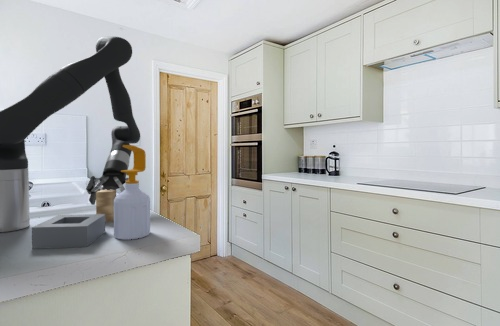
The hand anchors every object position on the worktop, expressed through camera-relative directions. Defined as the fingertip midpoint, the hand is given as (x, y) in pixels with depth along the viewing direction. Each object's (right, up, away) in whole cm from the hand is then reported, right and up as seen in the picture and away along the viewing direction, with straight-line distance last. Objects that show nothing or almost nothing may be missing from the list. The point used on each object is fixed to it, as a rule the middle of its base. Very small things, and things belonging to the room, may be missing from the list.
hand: (106, 203), depth 90 cm
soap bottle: (+15, -7, -14) cm, 21 cm away
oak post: (0, -6, +1) cm, 6 cm away
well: (+1, -7, -19) cm, 20 cm away
